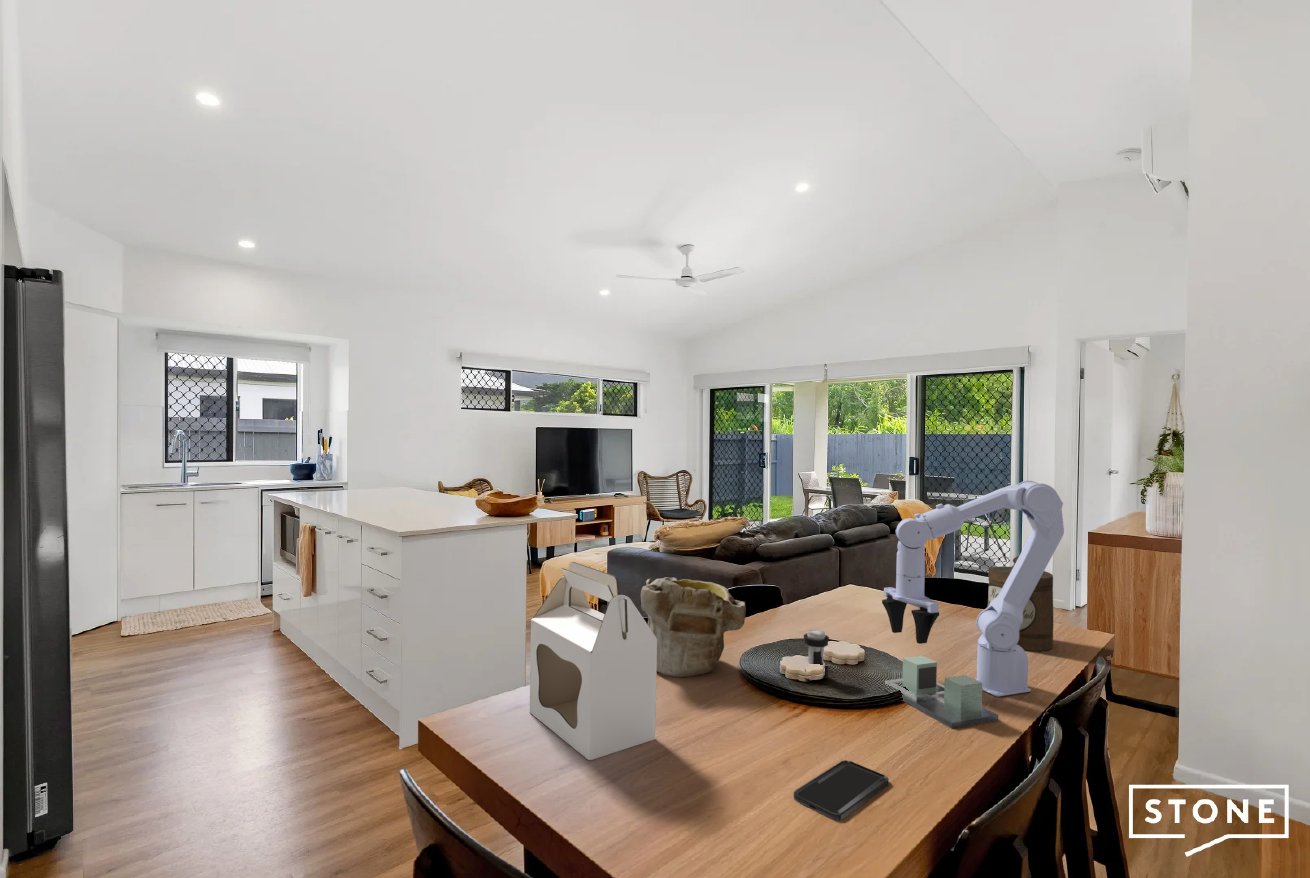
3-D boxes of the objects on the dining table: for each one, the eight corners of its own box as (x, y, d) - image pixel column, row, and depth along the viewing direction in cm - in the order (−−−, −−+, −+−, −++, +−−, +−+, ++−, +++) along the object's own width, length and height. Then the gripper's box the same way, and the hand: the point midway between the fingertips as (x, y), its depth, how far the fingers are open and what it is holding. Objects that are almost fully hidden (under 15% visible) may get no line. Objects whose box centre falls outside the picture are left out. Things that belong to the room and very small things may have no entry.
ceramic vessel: (740, 610, 163) (747, 543, 147) (742, 703, 144) (749, 636, 128) (649, 605, 165) (646, 538, 149) (639, 695, 146) (634, 629, 130)
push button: (810, 686, 137) (811, 638, 136) (792, 677, 141) (793, 631, 141) (833, 680, 140) (834, 633, 140) (816, 672, 144) (817, 627, 144)
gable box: (528, 712, 121) (530, 561, 121) (589, 696, 129) (592, 555, 129) (589, 762, 104) (592, 585, 103) (656, 740, 111) (659, 576, 111)
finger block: (902, 687, 134) (903, 658, 134) (921, 684, 136) (922, 655, 136) (917, 695, 130) (918, 665, 130) (937, 692, 132) (938, 662, 132)
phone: (891, 778, 99) (838, 816, 89) (891, 785, 99) (838, 824, 89) (844, 758, 105) (789, 792, 94) (844, 765, 105) (789, 800, 94)
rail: (878, 687, 137) (878, 653, 136) (920, 681, 140) (921, 648, 140) (951, 728, 118) (952, 689, 118) (998, 720, 122) (999, 682, 121)
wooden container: (974, 637, 172) (976, 553, 172) (1012, 630, 179) (1014, 550, 178) (1026, 654, 159) (1029, 564, 159) (1066, 647, 165) (1068, 560, 165)
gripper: (873, 569, 147) (871, 629, 147) (919, 583, 133) (918, 650, 133) (898, 567, 149) (897, 626, 149) (947, 581, 136) (945, 646, 136)
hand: (909, 637), depth 142 cm, fingers open, 7 cm apart
